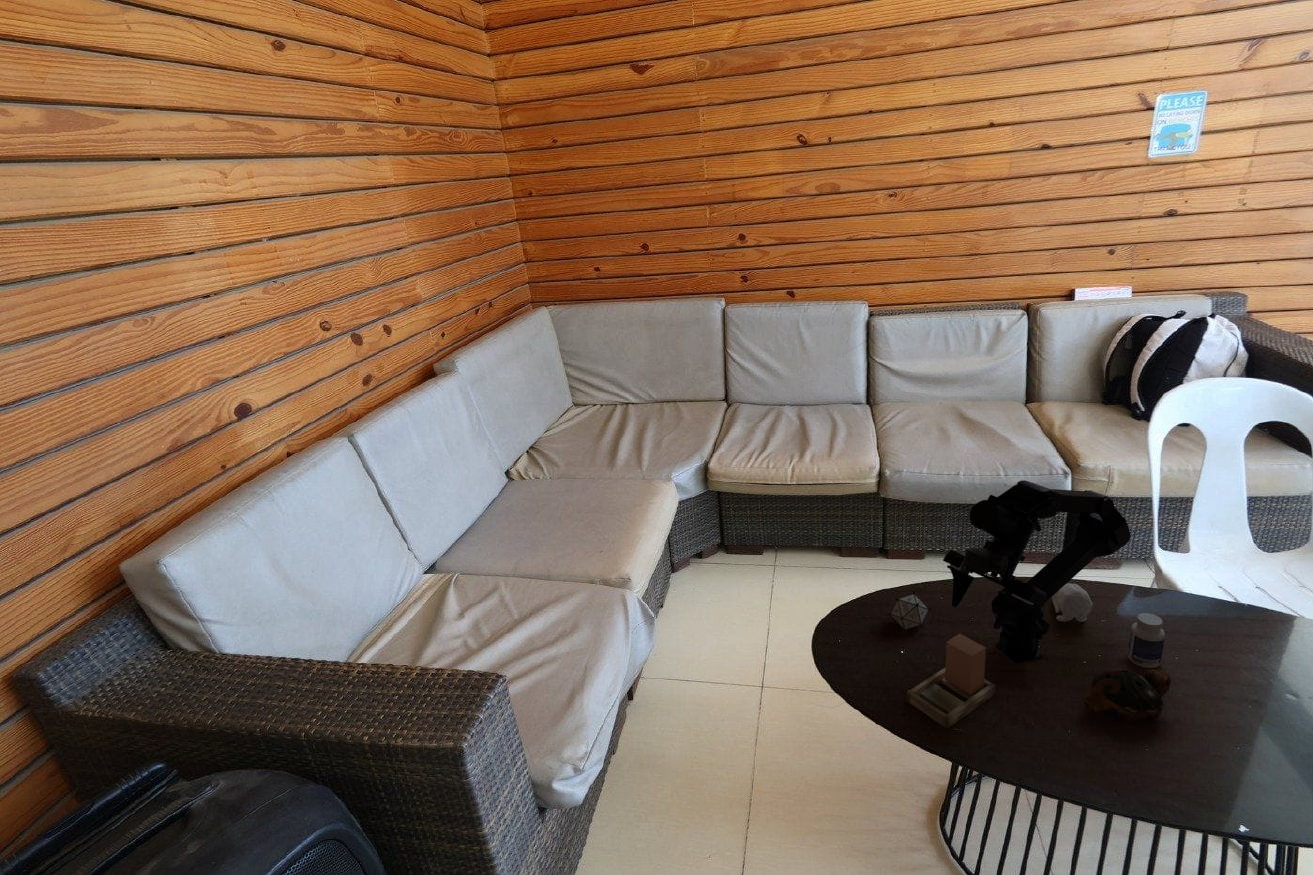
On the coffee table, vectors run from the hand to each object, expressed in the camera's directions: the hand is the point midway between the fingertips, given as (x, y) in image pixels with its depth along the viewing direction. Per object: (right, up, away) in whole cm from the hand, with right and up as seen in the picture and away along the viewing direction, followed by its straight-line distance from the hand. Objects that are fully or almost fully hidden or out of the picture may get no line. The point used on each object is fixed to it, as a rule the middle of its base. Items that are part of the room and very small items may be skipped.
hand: (973, 617), depth 129 cm
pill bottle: (+36, -10, +4) cm, 37 cm away
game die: (-4, -8, +22) cm, 24 cm away
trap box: (-4, -16, +1) cm, 16 cm away
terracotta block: (-1, -13, +2) cm, 14 cm away
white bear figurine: (+30, -5, +21) cm, 37 cm away
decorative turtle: (+24, -15, -7) cm, 29 cm away
